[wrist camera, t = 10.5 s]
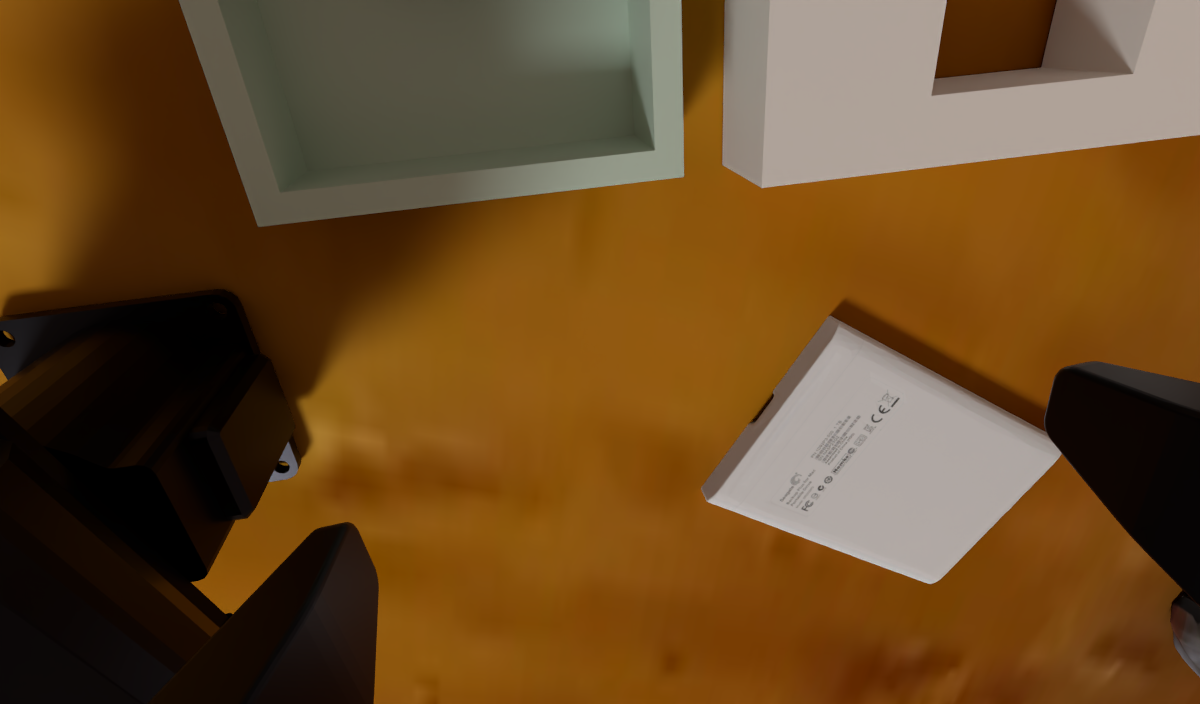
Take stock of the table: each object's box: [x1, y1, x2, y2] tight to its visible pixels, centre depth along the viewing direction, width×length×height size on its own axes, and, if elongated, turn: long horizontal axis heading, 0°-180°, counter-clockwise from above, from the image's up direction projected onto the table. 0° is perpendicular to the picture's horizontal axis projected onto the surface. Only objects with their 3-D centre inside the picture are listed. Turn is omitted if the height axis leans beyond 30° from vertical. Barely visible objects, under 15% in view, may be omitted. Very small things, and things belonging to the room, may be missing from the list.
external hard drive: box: [701, 316, 1062, 584], centre depth 24 cm, size 2×8×12 cm
